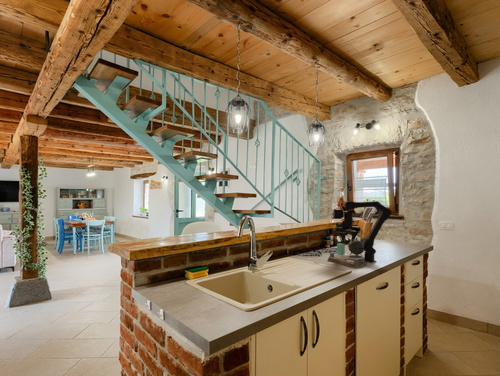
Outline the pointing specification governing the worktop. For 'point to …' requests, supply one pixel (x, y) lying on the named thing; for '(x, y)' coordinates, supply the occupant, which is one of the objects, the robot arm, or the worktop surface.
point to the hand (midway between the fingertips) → (348, 241)
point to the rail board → (348, 261)
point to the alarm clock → (355, 247)
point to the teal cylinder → (341, 252)
